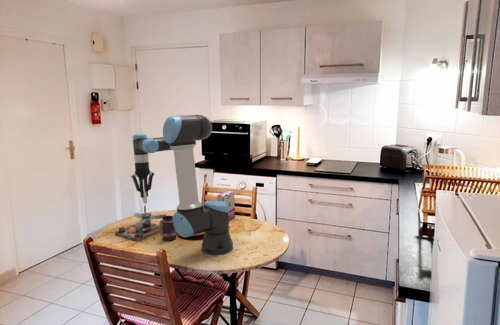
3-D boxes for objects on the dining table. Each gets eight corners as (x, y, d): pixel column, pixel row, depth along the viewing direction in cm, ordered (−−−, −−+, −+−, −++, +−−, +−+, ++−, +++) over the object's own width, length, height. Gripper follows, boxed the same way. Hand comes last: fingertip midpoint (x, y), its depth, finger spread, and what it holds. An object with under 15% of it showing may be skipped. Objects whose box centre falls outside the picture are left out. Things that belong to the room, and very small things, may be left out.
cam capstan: (150, 219, 207) (149, 206, 206) (168, 226, 197) (167, 212, 195) (121, 229, 193) (119, 215, 192) (137, 236, 183) (136, 221, 181)
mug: (168, 235, 188) (167, 213, 186) (179, 237, 185) (177, 215, 183) (155, 242, 179) (153, 219, 177) (166, 244, 176) (165, 221, 174)
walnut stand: (166, 229, 197) (165, 223, 196) (138, 241, 180) (137, 235, 179) (143, 223, 206) (143, 218, 205) (115, 235, 189) (114, 229, 188)
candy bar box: (228, 216, 217) (228, 190, 214) (235, 217, 214) (234, 191, 212) (217, 221, 208) (216, 194, 205) (224, 223, 205) (223, 196, 202)
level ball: (138, 233, 186) (137, 226, 185) (132, 236, 183) (131, 228, 182) (133, 232, 188) (132, 225, 187) (127, 234, 185) (126, 227, 184)
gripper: (150, 159, 203) (153, 199, 206) (127, 162, 194) (131, 203, 198) (155, 161, 197) (158, 201, 200) (132, 163, 189) (136, 206, 192)
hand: (144, 202), depth 199 cm, fingers closed
